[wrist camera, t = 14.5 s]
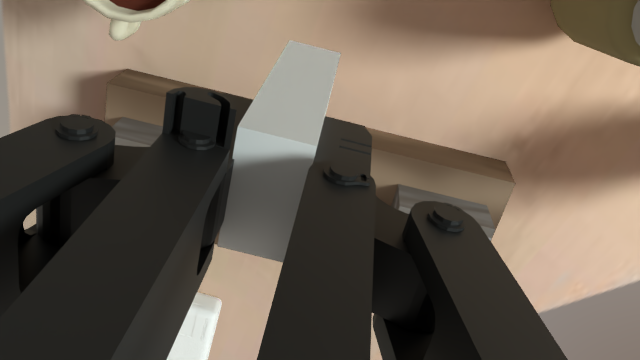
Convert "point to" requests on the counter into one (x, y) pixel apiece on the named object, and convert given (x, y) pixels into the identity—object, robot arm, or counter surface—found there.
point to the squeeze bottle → (602, 25)
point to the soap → (197, 329)
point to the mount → (386, 158)
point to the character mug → (132, 13)
